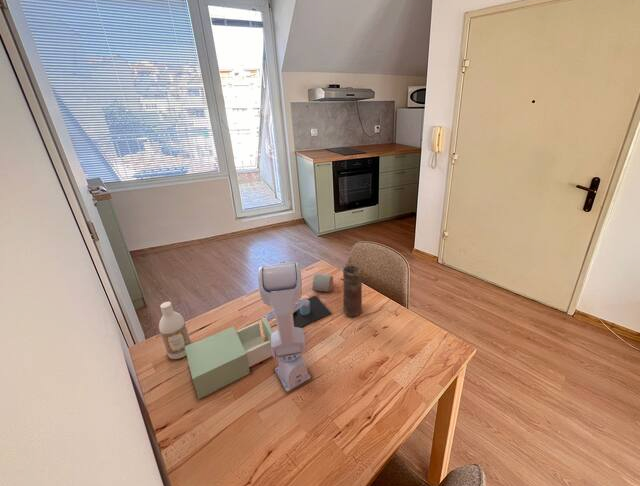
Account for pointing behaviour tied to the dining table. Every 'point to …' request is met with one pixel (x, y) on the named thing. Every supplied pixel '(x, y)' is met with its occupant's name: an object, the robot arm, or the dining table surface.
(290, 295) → the robot arm
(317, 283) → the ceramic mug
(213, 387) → the green drawer cabinet
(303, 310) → the bottle
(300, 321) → the mat
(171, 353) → the bath foam
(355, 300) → the dark brown flask
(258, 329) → the drawer
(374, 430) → the dining table surface
